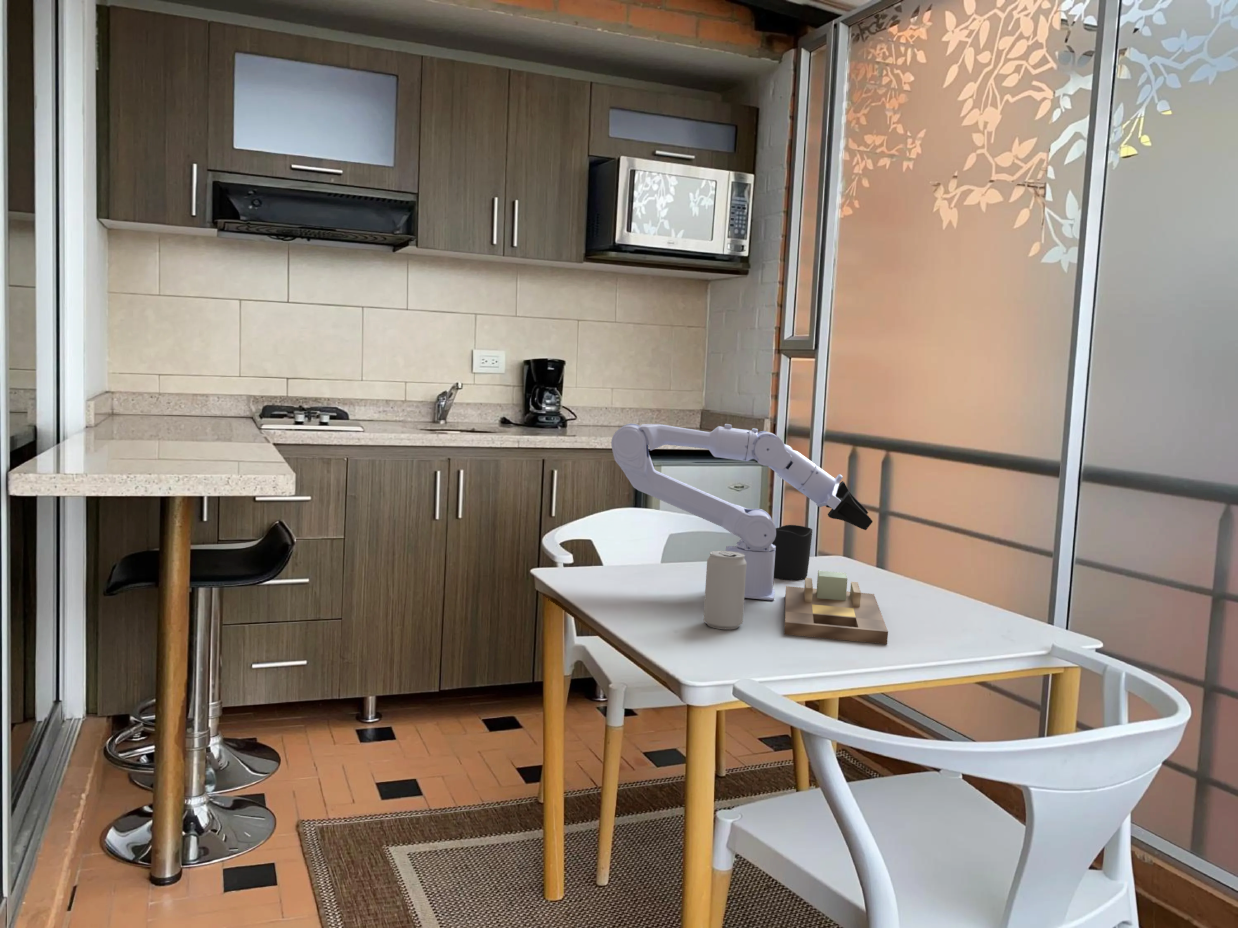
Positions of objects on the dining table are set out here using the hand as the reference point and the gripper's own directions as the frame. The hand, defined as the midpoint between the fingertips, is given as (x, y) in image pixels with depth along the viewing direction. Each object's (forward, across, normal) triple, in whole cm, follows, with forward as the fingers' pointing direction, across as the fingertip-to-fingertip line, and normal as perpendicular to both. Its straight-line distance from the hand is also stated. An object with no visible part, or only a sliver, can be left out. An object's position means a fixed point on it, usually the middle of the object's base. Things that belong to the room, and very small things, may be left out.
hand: (866, 520), depth 190 cm
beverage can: (-14, -27, +25) cm, 39 cm away
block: (+2, -7, +14) cm, 16 cm away
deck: (+2, -16, +15) cm, 22 cm away
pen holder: (-2, +19, +21) cm, 28 cm away
